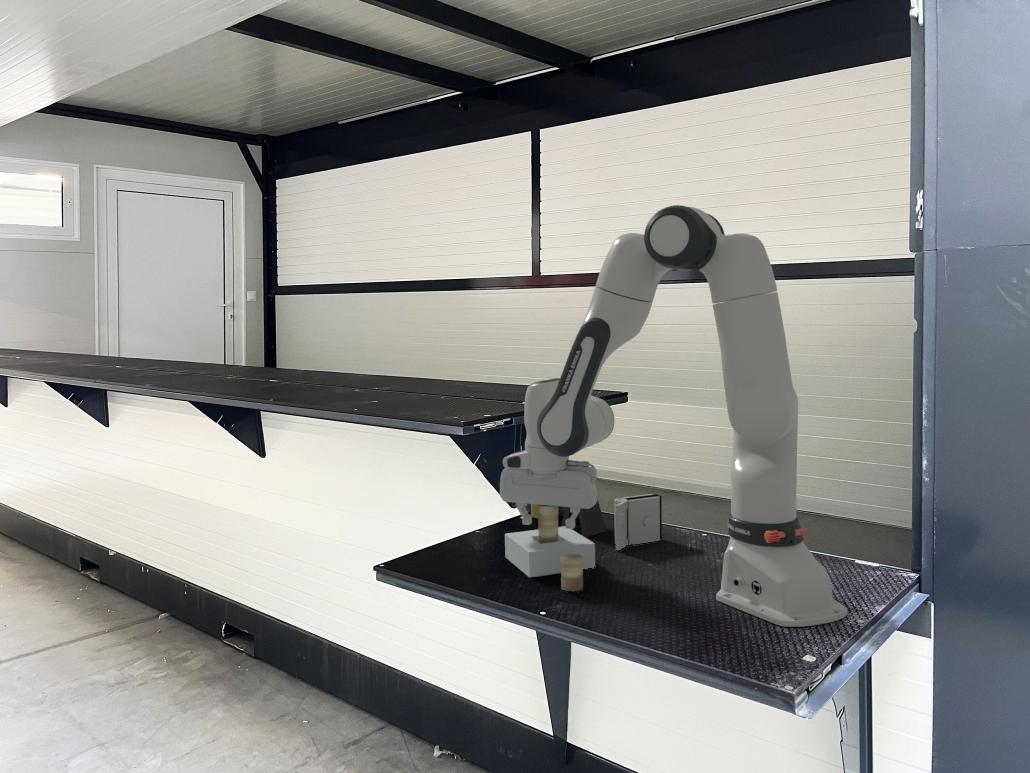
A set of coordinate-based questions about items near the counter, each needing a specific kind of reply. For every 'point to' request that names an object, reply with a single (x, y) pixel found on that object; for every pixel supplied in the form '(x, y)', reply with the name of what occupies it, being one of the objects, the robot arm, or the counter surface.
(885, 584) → the counter surface
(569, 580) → the short pin
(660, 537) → the hinge
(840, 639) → the counter surface
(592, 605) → the counter surface
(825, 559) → the counter surface
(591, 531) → the phone stand
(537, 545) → the hole board
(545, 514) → the tall pin
